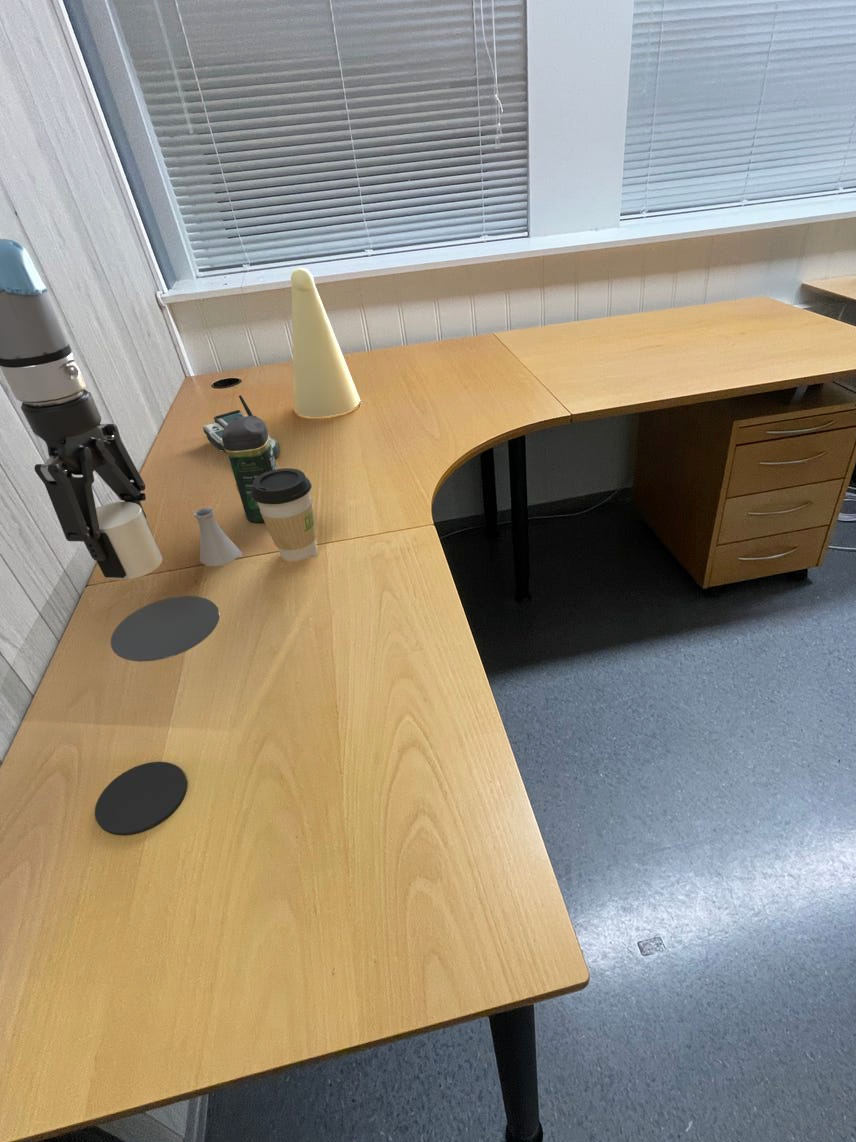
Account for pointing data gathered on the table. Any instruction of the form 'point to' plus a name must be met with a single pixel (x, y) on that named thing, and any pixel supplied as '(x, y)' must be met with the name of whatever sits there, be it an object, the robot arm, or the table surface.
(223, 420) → the communication device
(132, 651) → the plate
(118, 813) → the coaster
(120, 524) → the white cylinder
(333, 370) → the cone light
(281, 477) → the coffee cup
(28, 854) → the table surface
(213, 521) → the flask
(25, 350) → the robot arm
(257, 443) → the coffee jar
